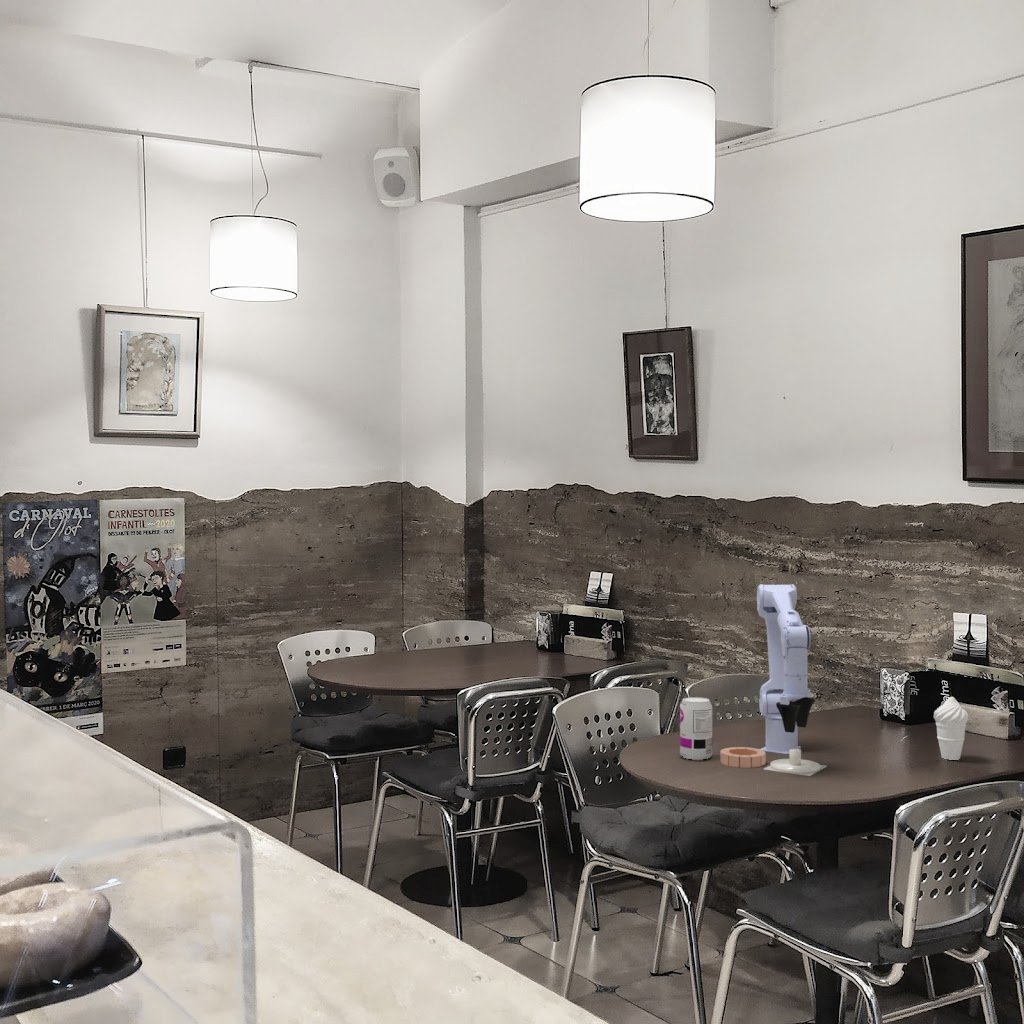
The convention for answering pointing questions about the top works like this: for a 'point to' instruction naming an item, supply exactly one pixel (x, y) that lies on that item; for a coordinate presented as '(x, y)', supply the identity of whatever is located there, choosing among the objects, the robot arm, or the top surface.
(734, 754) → the bowl
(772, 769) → the mat
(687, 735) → the supplement can
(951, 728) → the soft serve ice cream cone
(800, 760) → the lid
